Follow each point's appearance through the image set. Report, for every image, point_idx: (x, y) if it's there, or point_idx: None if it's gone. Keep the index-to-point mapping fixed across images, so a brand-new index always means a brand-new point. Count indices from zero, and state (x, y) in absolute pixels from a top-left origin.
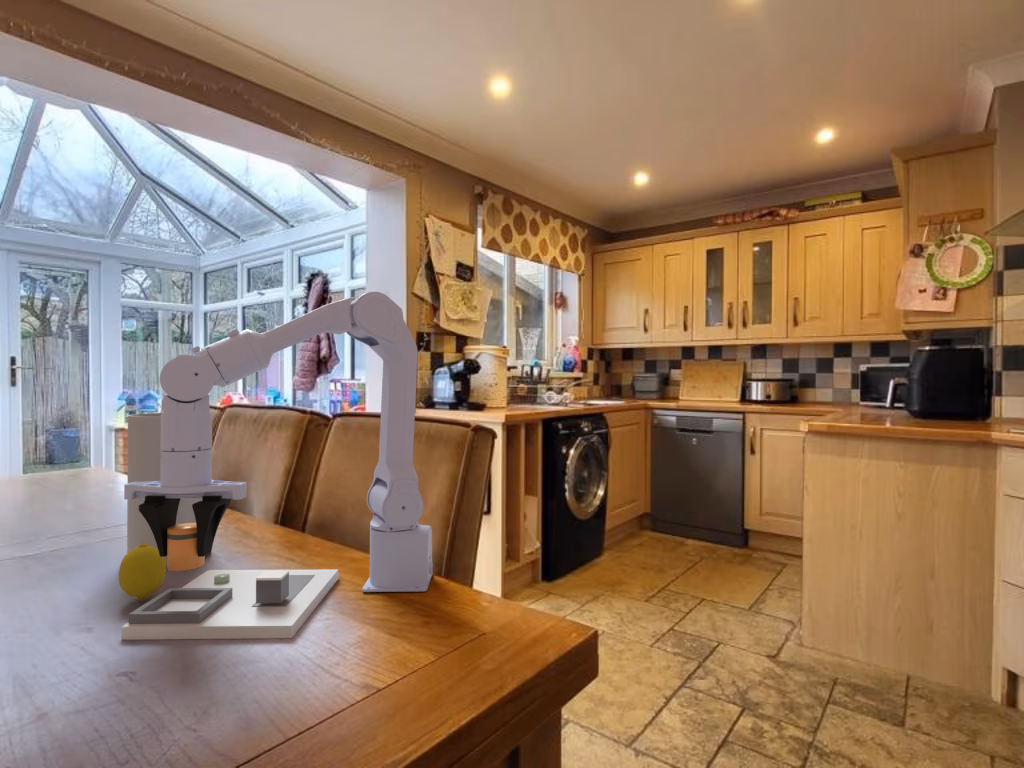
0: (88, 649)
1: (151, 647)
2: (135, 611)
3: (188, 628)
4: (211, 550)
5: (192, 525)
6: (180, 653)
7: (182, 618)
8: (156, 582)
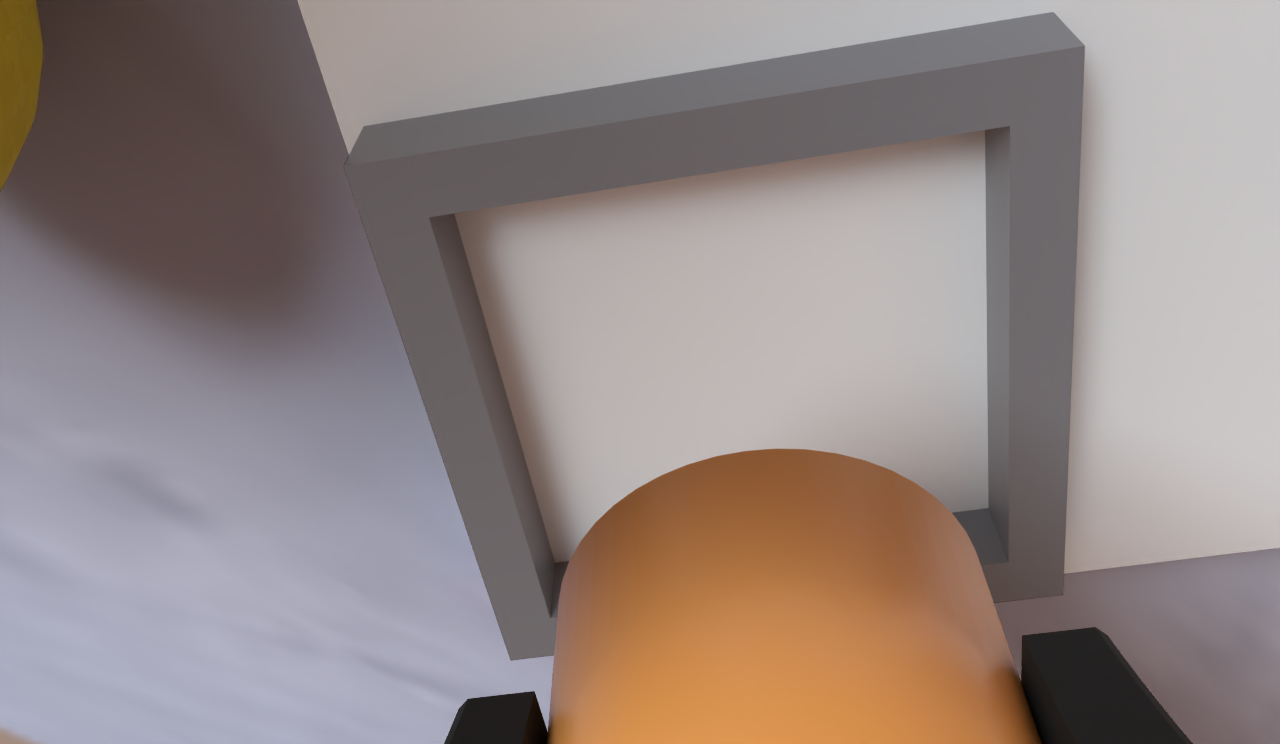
0: (432, 674)
1: None
2: (519, 623)
3: None
4: (1114, 646)
5: None
6: (1018, 649)
7: None
8: (34, 53)
